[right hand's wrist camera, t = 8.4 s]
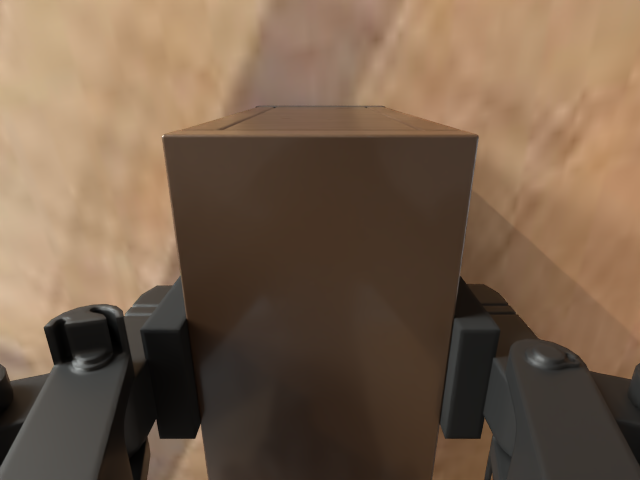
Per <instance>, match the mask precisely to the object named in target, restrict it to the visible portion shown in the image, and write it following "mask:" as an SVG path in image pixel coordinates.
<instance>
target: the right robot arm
mask: <svg viewBox="0 0 640 480" xmlns="http://www.w3.org/2000/svg"><path fill="white" fill-rule="evenodd" d="M44 331H45V334H46V338H47V341H48V345H49V348H50V352H51V355H52V359H53V362H54V367H53V368H52V370H51V372H50V373H48V374H44V375H39V376H34V377H29V378H24V379H19V380H14V381H10V380H9V377H8V374H7V371H6V368H5V367H4V366H2V365H1V364H0V480H147V475H148V468H149V460H150V448H149V442H148V437H147V436H148V434H149V432H150V430H151V428H152V426H153V424H154V422H155V420H157V426H158V431H159V436H160V439H195V438H196V435H197V432H198V429H199V427H200V424H201V422H200V414H199V407H198V399H197V392H196V385H195V377H194V370H193V363H192V355H191V348H190V340H189V333H188V326H187V318H186V311H185V304H184V297H183V289H182V282H181V275H180V277H179V278H178V279H177V281H176V282H175V283H174V285H173V286H156V287H154V288H152V289H151V290H149V291H147V292H145V293H144V294H142V295H141V296H140V297H139V299H138V300H137V301H136V302H135V303H134V304H133V307H131V308H130V309H129V310H128V311H127V312H126V314H125V316H123V311H122V310H121V309H120V308H118V307H117V306H113V305H108V304H99V305H89V306H84V307H79V308H76V309H73V310H70V311H67V312H65V313H62V314H61V315H59V316H57V317H55V318H54V319H52V320H51V321H50V322H49V323H48V324H47V325H46V326H45V327H44ZM484 417H485V419H486V421H487V423H488V425H489V427H490V429H491V431H492V433H493V437H492V442H491V447H490V452H489V457H488V462H487V467H486V472H485V479H484V480H491V475H492V474H493V480H640V363H639V364H638V365H637V366H636V367H635V370H634V373H633V376H632V379H626V378H621V377H616V376H611V375H605V374H600V373H596V372H592V371H589V370H588V368H587V366H586V364H585V363H584V362H583V361H582V359H581V358H580V357H579V356H578V355H576V354H575V353H573V352H572V351H570V350H569V349H567V348H565V347H563V346H560V345H558V344H555V343H553V342H549V341H544V340H540V339H538V337H537V336H536V335H535V334H534V333H533V332H532V331H531V329H530V328H529V327H528V326H527V325H526V324H525V323H524V321H523V320H522V319H521V318H520V317H519V316H518V315H516V312H515V311H514V310H513V309H512V308H511V307H510V306H508V303H507V302H506V301H505V300H504V299H503V297H502V296H501V295H500V294H499V293H498V292H496V291H494V290H492V289H491V288H489V287H487V286H486V285H484V284H466V283H465V281H464V280H463V279H462V277H461V276H460V278H459V285H458V293H457V300H456V307H455V315H454V322H453V329H452V336H451V344H450V351H449V358H448V366H447V373H446V380H445V388H444V395H443V402H442V410H441V417H440V425H441V428H442V431H443V434H444V436H445V439H481V434H482V428H483V423H484Z"/></svg>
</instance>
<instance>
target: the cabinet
mask: <svg viewBox="0 0 640 480" xmlns="http://www.w3.org/2000/svg"><path fill="white" fill-rule="evenodd" d="M478 139H479V137H478V135H476V134H473V133H470V132H466V131H463V130H459V129H455V128H452V127H449V126H445V125H442V124H439V123H435V122H432V121H429V120H425V119H422V118H419V117H415V116H412V115H408V114H405V113H402V112H398V111H395V110H392V109H388V108H385V107H384V106H257V107H256V108H253V109H250V110H247V111H243V112H240V113H236V114H233V115H230V116H226V117H223V118H220V119H216V120H213V121H210V122H206V123H203V124H200V125H196V126H193V127H190V128H186V129H183V130H177V131H174V132H171V133H167V134H164V135H162V142H163V149H164V156H165V164H166V171H167V179H168V186H169V193H170V201H171V208H172V215H173V223H174V230H175V238H176V245H177V252H178V260H179V267H180V274H181V282H182V289H183V297H184V304H185V311H186V318H187V326H188V333H189V340H190V348H191V355H192V363H193V370H194V377H195V385H196V392H197V399H198V407H199V414H200V422H201V429H202V437H203V444H204V451H205V459H206V466H207V474H208V480H432V476H433V469H434V461H435V454H436V447H437V439H438V432H439V425H440V417H441V410H442V402H443V395H444V388H445V380H446V373H447V366H448V358H449V351H450V344H451V336H452V329H453V322H454V315H455V307H456V300H457V293H458V285H459V278H460V271H461V263H462V256H463V249H464V241H465V234H466V227H467V219H468V212H469V205H470V197H471V190H472V183H473V175H474V168H475V161H476V153H477V146H478Z"/></svg>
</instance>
